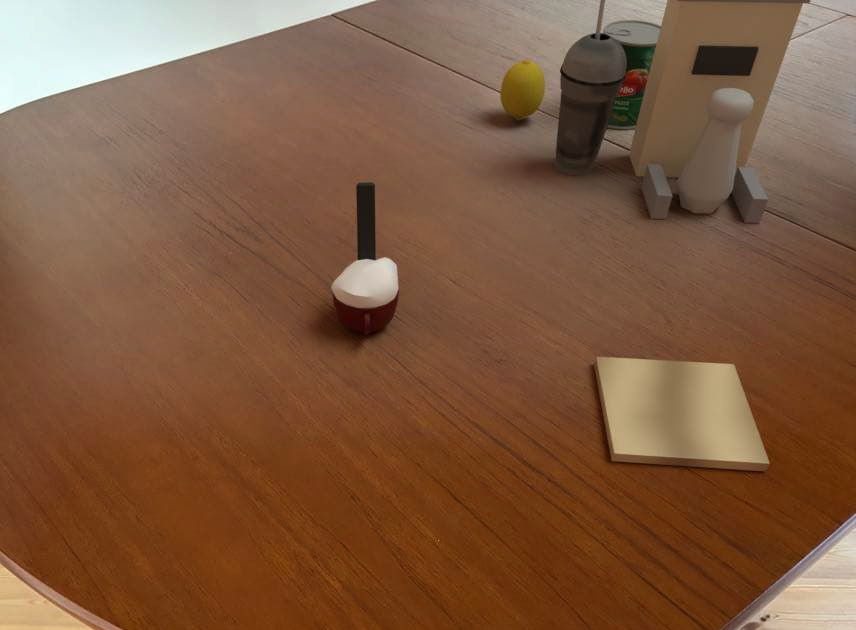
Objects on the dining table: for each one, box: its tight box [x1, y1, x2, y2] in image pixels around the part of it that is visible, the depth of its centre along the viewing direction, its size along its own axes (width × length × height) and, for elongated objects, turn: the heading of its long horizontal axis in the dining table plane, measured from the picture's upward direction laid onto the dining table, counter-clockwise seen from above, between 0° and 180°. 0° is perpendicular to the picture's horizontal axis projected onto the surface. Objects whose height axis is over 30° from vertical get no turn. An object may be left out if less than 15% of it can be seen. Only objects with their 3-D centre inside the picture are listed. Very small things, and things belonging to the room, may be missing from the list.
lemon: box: [499, 58, 546, 121], centre depth 111 cm, size 6×6×8 cm
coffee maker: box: [628, 0, 811, 224], centre depth 92 cm, size 13×15×23 cm
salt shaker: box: [676, 88, 754, 215], centre depth 93 cm, size 6×6×13 cm
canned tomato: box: [602, 19, 661, 131], centre depth 110 cm, size 8×8×11 cm
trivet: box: [593, 356, 771, 472], centre depth 73 cm, size 12×12×1 cm
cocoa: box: [330, 181, 400, 335], centre depth 79 cm, size 10×6×12 cm, turn 156°
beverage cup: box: [554, 0, 626, 176], centre depth 97 cm, size 7×7×20 cm
